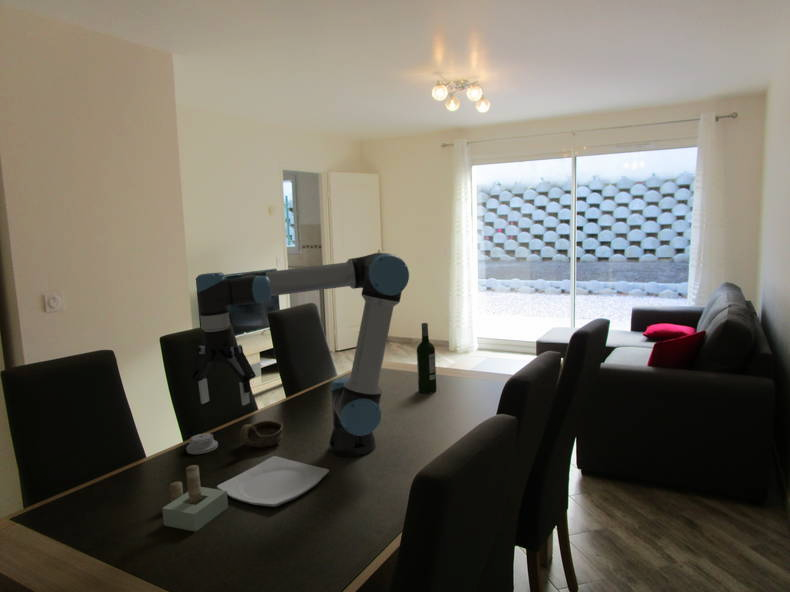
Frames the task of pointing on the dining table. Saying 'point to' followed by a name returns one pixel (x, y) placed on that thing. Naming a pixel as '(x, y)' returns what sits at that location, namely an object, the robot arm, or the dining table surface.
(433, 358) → the wine bottle
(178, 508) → the hole block
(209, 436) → the mechanical component
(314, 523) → the dining table surface
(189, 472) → the long dowel
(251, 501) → the plate
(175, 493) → the short dowel
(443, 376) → the dining table surface
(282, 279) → the robot arm
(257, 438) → the brown mug
